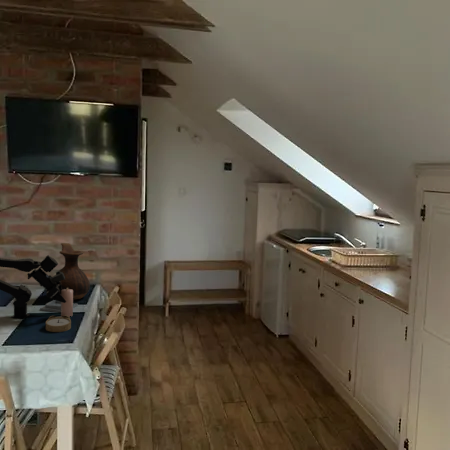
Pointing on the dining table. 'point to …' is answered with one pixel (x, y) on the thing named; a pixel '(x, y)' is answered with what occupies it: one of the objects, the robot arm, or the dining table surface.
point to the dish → (54, 306)
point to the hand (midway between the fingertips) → (66, 299)
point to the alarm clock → (58, 323)
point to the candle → (67, 302)
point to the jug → (73, 273)
